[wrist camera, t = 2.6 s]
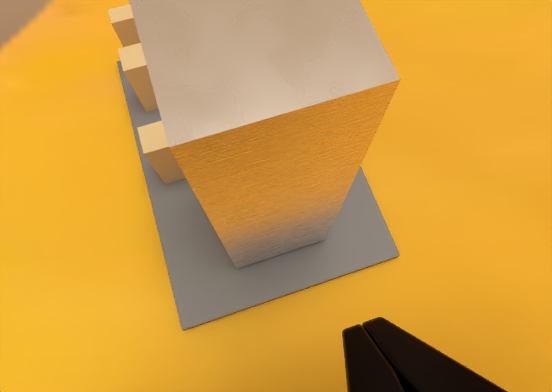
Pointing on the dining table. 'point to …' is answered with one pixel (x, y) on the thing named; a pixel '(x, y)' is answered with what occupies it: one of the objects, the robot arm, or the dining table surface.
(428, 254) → the dining table surface
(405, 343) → the robot arm
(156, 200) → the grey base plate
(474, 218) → the dining table surface
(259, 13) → the pillar on grey plate
